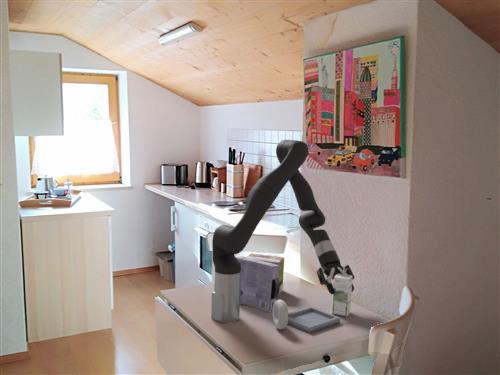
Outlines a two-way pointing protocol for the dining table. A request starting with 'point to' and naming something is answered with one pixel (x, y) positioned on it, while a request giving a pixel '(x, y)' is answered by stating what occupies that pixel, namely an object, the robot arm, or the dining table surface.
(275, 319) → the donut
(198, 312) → the dining table surface
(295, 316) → the tray
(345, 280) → the syrup box
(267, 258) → the tea box
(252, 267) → the cake pan box
